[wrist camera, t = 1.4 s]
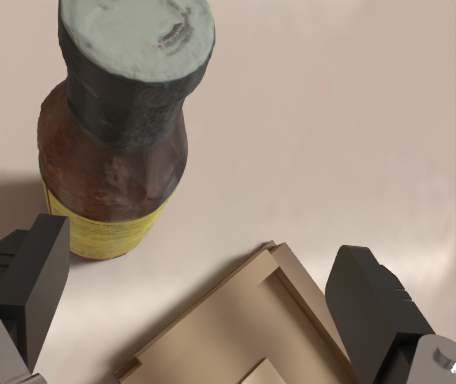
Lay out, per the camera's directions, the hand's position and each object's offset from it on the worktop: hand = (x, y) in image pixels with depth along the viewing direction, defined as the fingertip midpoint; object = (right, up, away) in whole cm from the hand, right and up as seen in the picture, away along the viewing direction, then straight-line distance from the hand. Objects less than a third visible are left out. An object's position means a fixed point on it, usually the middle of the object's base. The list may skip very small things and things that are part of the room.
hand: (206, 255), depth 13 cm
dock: (+3, -11, +16) cm, 20 cm away
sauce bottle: (-8, 0, +16) cm, 18 cm away
